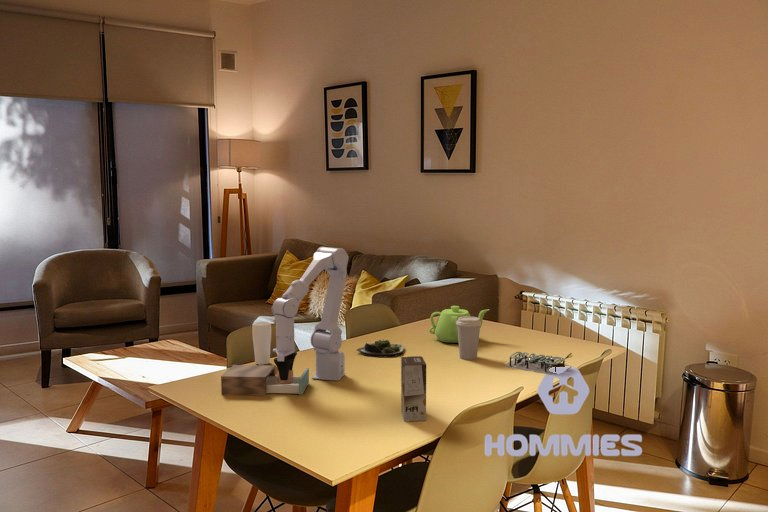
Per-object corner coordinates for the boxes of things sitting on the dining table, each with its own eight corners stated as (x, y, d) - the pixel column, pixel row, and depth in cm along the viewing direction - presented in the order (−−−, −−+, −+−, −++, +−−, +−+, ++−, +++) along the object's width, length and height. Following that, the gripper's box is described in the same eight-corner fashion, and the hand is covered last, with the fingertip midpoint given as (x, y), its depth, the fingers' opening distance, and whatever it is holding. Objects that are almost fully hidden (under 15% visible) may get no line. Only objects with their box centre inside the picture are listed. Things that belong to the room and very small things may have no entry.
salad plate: (364, 344, 270) (364, 333, 269) (407, 346, 266) (407, 335, 266) (354, 356, 251) (353, 344, 250) (400, 358, 248) (400, 346, 247)
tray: (308, 382, 216) (308, 368, 215) (301, 394, 203) (301, 379, 203) (267, 381, 217) (267, 367, 216) (258, 394, 204) (257, 378, 204)
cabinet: (275, 382, 217) (275, 365, 216) (265, 395, 204) (265, 377, 203) (233, 381, 218) (233, 364, 217) (221, 394, 205) (221, 376, 204)
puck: (281, 379, 213) (281, 368, 212) (295, 380, 211) (295, 370, 211) (274, 383, 208) (274, 372, 208) (289, 385, 207) (288, 374, 206)
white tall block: (267, 366, 236) (266, 325, 234) (250, 365, 237) (249, 324, 235) (274, 361, 242) (273, 321, 241) (257, 360, 244) (256, 321, 242)
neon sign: (585, 347, 248) (559, 365, 223) (585, 358, 248) (558, 377, 224) (532, 340, 259) (501, 356, 235) (532, 350, 260) (501, 367, 236)
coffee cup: (452, 359, 245) (452, 319, 243) (459, 353, 254) (459, 315, 252) (477, 362, 241) (478, 322, 240) (483, 355, 250) (484, 317, 249)
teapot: (424, 338, 278) (424, 305, 276) (459, 332, 289) (459, 300, 288) (453, 347, 263) (453, 312, 261) (489, 341, 274) (490, 307, 272)
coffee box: (426, 421, 182) (427, 364, 180) (403, 421, 181) (403, 365, 179) (422, 409, 191) (422, 355, 189) (400, 410, 190) (400, 356, 188)
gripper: (277, 330, 215) (278, 370, 217) (267, 341, 201) (268, 384, 203) (299, 330, 215) (299, 371, 217) (290, 341, 201) (290, 384, 202)
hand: (286, 377), depth 210 cm, fingers closed on puck, 5 cm apart
